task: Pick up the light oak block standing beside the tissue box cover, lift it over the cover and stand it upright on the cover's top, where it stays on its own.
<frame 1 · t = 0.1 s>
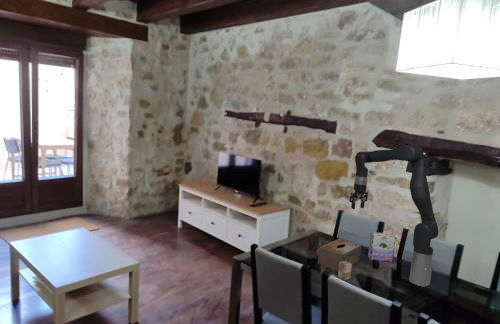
hand: (357, 208, 223), 29 cm above the table, tool pointing down, fingers open, 8 cm apart
candy box: (379, 259, 219), on the table
oak block: (344, 277, 189), on the table
tissue box cover: (339, 262, 210), on the table
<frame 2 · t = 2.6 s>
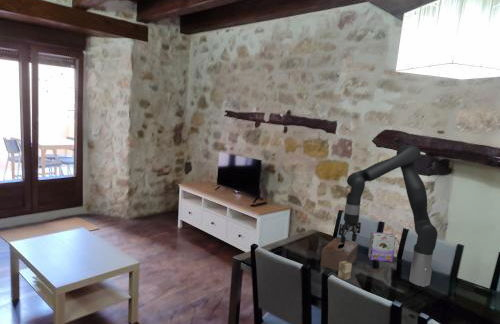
hand: (348, 242, 187), 20 cm above the table, tool pointing down, fingers open, 8 cm apart
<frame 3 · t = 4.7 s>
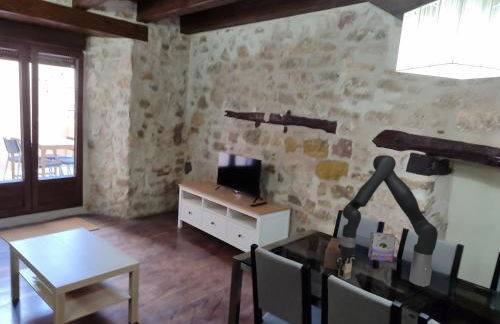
hand: (344, 274, 189), 1 cm above the table, tool pointing down, fingers closed on oak block, 4 cm apart
oak block: (344, 277, 189), on the table, touching gripper
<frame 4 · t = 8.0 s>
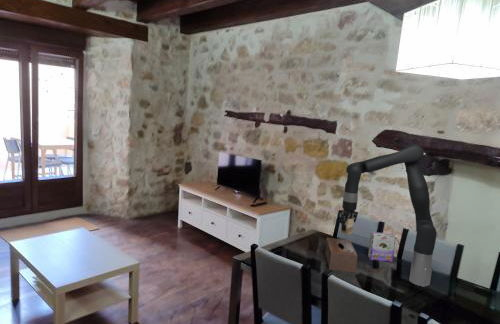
hand: (346, 230, 195), 23 cm above the table, tool pointing down, fingers closed on oak block, 4 cm apart
oak block: (346, 232, 195), point 22 cm above the table, touching gripper
when the fingers open (13 cm above the table, at t = 11.1 s): oak block drops 2 cm, resting on tissue box cover.
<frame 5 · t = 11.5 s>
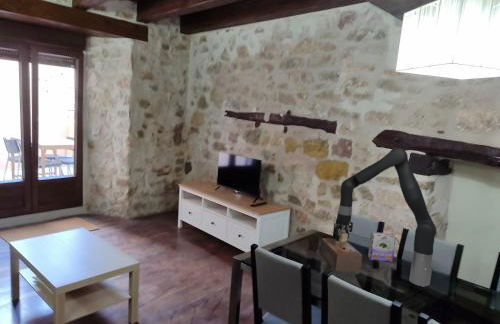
hand: (341, 240, 208), 13 cm above the table, tool pointing down, fingers open, 7 cm apart
oak block: (340, 246, 209), point 10 cm above the table, touching tissue box cover
tissue box cover: (339, 262, 210), on the table, touching oak block
everything else where it was.
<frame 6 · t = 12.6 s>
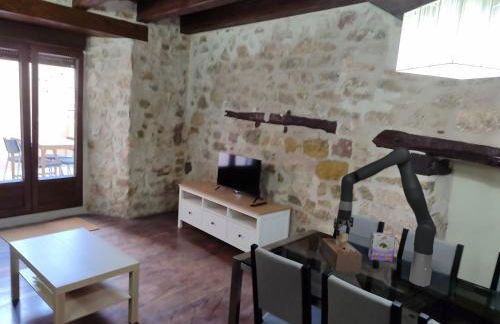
hand: (342, 235, 208), 16 cm above the table, tool pointing down, fingers open, 8 cm apart
oak block: (341, 246, 209), point 10 cm above the table
tissue box cover: (339, 262, 210), on the table
everything else where it was.
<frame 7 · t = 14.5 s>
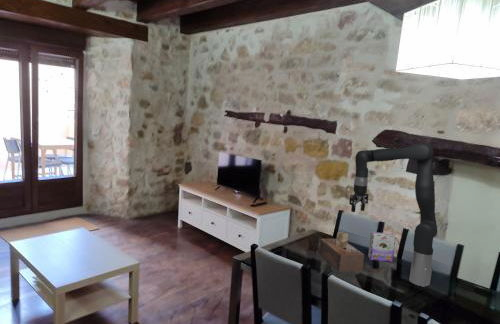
hand: (357, 211, 209), 31 cm above the table, tool pointing down, fingers open, 8 cm apart
oak block: (341, 246, 209), point 10 cm above the table, touching tissue box cover
tissue box cover: (339, 262, 210), on the table, touching oak block
everything else where it was.
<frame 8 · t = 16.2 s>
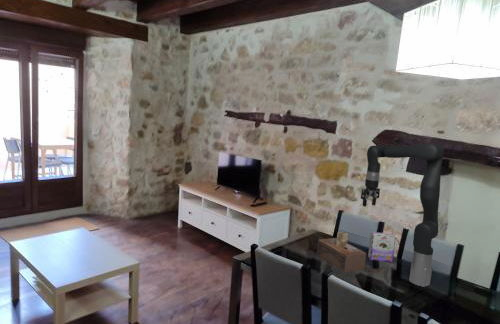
hand: (369, 205, 212), 34 cm above the table, tool pointing down, fingers open, 8 cm apart
at the end: oak block inside the target area on the tissue box cover (0.1 cm from its centre), point 10.2 cm above the tissue box cover's base; oak block tilted 0°; the gripper is holding nothing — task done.
